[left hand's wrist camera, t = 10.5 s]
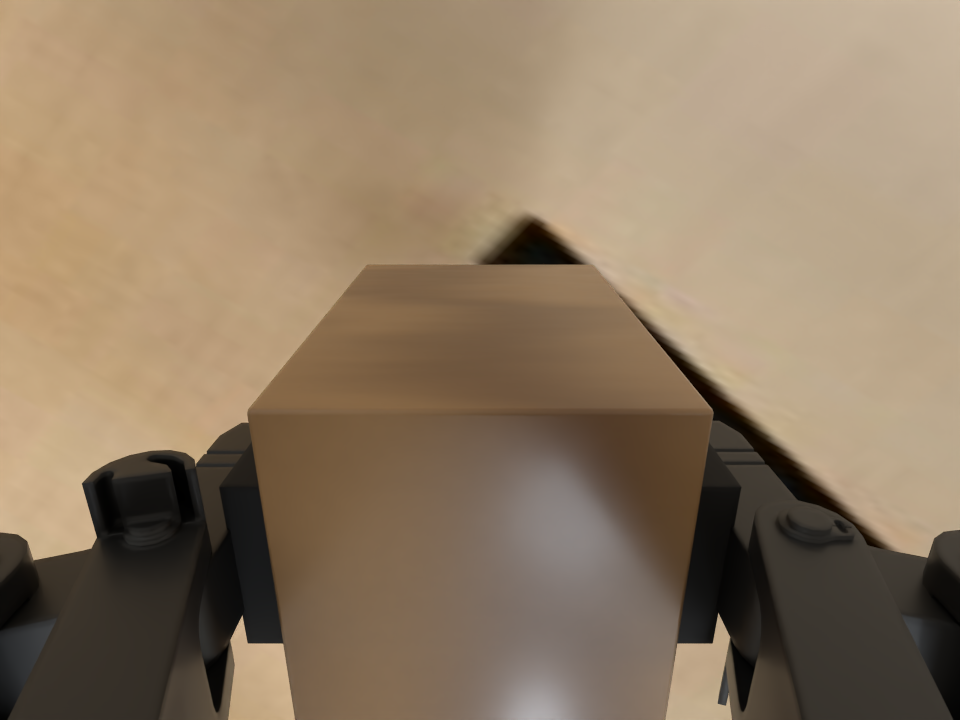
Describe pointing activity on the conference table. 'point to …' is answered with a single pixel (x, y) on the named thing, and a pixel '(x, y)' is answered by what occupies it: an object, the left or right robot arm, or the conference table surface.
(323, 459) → the block
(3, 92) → the conference table surface
